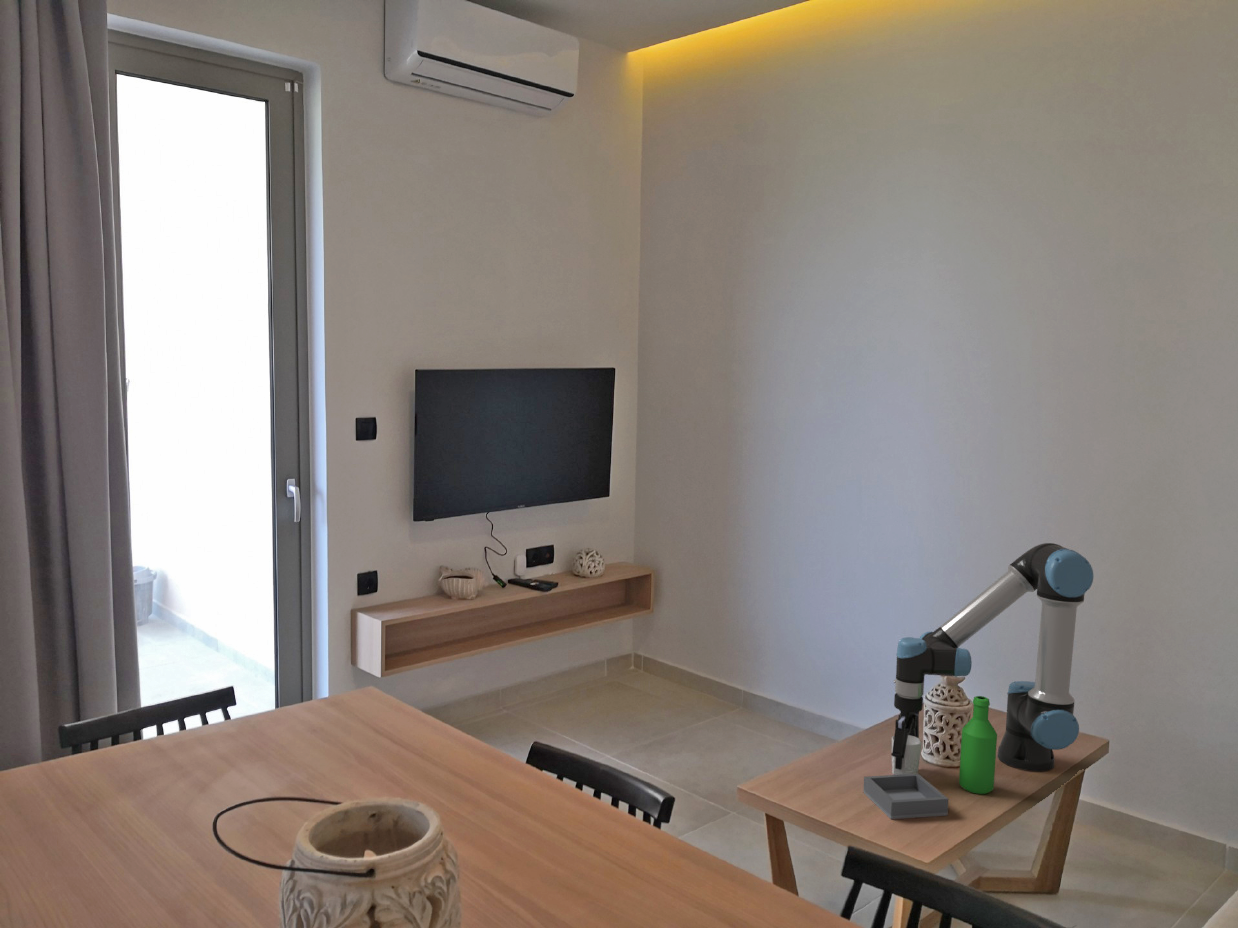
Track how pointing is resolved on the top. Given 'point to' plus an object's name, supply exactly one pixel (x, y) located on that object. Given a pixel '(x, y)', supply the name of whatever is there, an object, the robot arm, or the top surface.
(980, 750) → the bottle
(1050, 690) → the robot arm
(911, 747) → the white cup
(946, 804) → the gray tray
